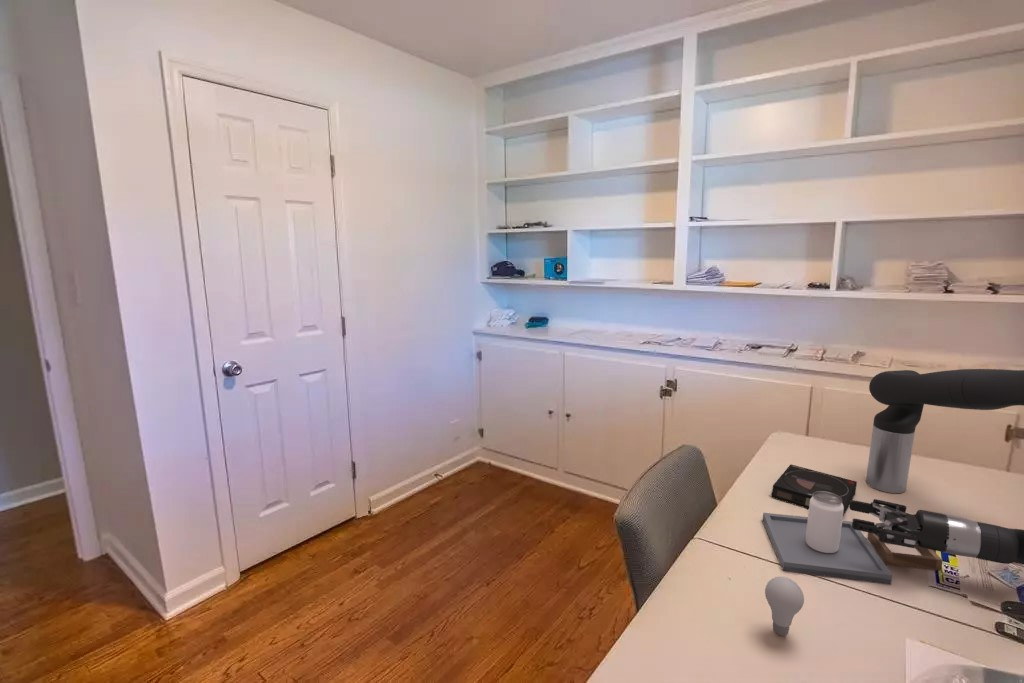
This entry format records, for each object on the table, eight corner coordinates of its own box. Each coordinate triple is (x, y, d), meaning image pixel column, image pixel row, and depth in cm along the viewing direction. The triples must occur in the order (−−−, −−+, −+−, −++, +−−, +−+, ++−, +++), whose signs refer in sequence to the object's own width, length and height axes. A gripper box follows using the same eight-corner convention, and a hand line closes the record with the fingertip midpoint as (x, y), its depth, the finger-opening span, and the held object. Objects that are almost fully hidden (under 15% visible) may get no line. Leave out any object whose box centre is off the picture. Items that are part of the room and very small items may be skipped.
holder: (867, 538, 121) (868, 528, 120) (916, 543, 118) (918, 533, 118) (886, 564, 111) (888, 554, 111) (940, 571, 109) (942, 560, 108)
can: (843, 556, 112) (849, 506, 110) (810, 552, 114) (816, 503, 111) (832, 539, 119) (838, 491, 116) (801, 536, 120) (806, 488, 117)
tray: (762, 520, 129) (763, 512, 128) (852, 530, 124) (853, 521, 124) (783, 571, 110) (784, 561, 109) (890, 584, 105) (892, 575, 105)
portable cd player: (771, 499, 140) (772, 485, 139) (789, 476, 152) (790, 464, 151) (841, 521, 129) (843, 506, 128) (855, 495, 141) (856, 481, 140)
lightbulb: (754, 622, 96) (759, 570, 93) (786, 620, 96) (791, 567, 94) (773, 648, 90) (779, 593, 87) (807, 645, 90) (813, 590, 88)
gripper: (941, 500, 110) (850, 484, 118) (957, 534, 98) (855, 513, 106) (935, 532, 112) (846, 513, 119) (951, 569, 99) (851, 546, 107)
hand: (851, 513), depth 112 cm, fingers open, 8 cm apart
